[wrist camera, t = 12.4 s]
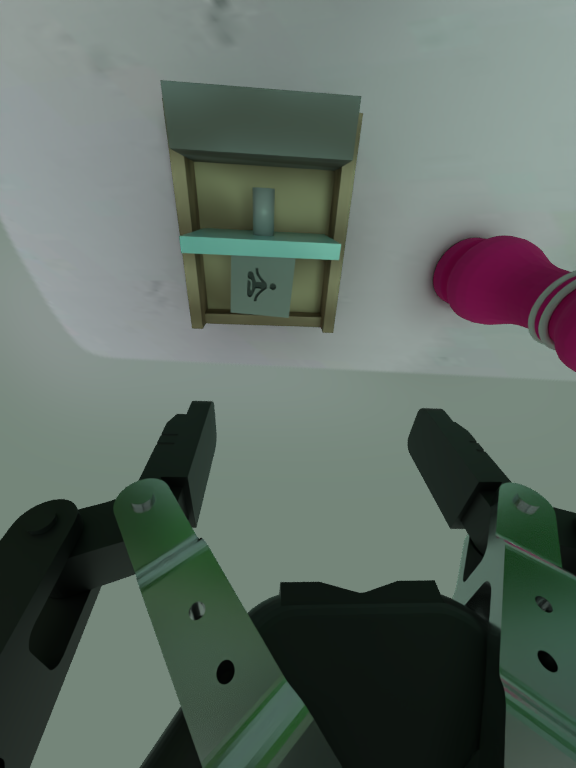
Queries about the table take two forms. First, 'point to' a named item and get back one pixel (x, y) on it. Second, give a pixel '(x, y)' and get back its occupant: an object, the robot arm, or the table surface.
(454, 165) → the table surface
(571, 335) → the pepper mill
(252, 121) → the pusher lane
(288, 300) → the dice cube
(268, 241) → the bar
